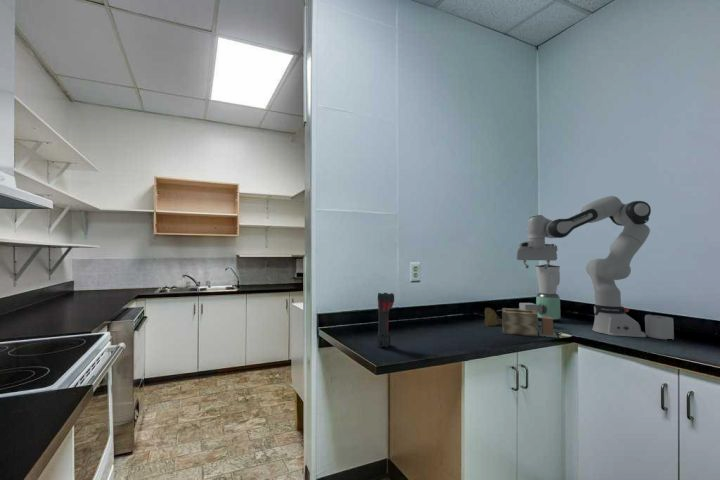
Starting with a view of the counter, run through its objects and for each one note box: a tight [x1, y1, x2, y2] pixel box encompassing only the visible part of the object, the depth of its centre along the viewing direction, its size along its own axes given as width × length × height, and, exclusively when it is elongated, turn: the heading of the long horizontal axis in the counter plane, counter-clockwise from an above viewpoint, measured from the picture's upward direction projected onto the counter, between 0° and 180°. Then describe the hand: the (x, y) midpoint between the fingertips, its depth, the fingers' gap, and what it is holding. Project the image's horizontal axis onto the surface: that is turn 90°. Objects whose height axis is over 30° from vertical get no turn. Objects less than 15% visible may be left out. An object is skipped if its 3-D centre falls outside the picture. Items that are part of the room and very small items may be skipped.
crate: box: [501, 307, 539, 338], centre depth 174 cm, size 16×14×11 cm
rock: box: [484, 307, 501, 327], centre depth 191 cm, size 11×9×10 cm
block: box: [541, 317, 554, 335], centre depth 168 cm, size 4×4×8 cm
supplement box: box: [518, 302, 539, 322], centre depth 191 cm, size 7×7×13 cm
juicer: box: [535, 263, 561, 322], centre depth 207 cm, size 19×13×35 cm
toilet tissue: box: [644, 314, 675, 340], centre depth 166 cm, size 11×12×10 cm
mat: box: [538, 330, 559, 339], centre depth 168 cm, size 8×10×1 cm
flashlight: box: [376, 292, 395, 348], centre depth 146 cm, size 8×8×23 cm
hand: (536, 268), depth 186 cm, fingers open, 8 cm apart
